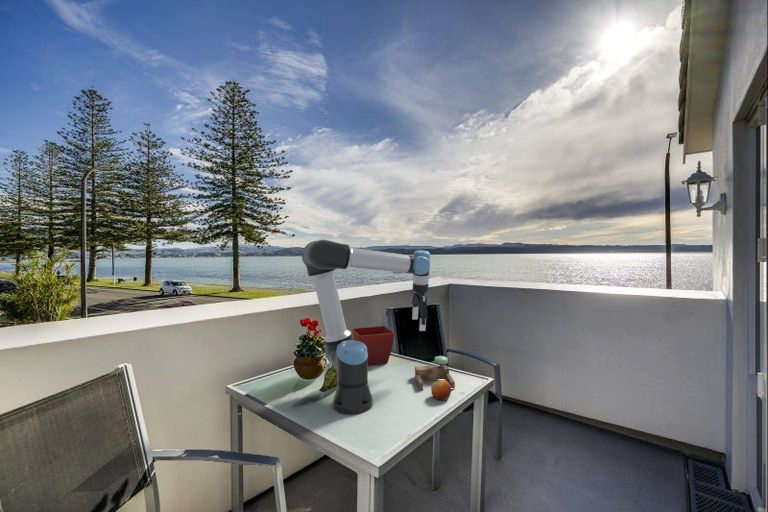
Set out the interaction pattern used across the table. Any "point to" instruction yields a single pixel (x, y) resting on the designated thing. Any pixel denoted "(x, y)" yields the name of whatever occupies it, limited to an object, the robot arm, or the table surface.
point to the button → (441, 360)
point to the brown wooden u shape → (448, 378)
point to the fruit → (441, 390)
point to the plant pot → (375, 343)
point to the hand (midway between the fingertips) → (418, 324)
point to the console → (431, 372)
